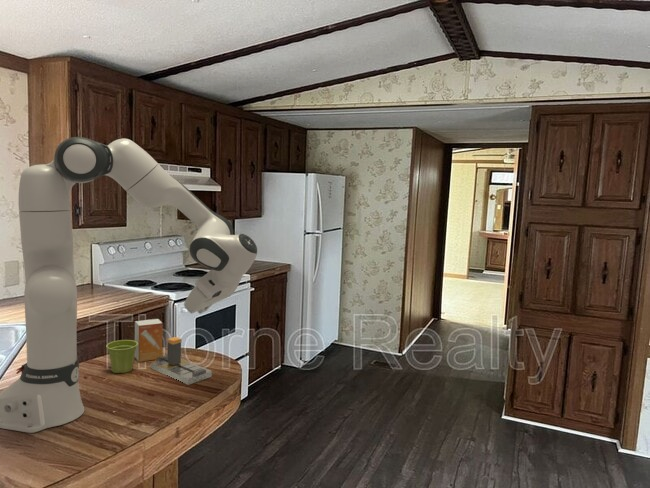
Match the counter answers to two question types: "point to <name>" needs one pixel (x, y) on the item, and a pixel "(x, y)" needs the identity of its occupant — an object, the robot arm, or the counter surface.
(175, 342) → the fader knob
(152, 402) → the counter surface
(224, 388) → the counter surface
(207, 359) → the counter surface
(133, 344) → the plant pot
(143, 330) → the small box
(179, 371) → the fader console
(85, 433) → the counter surface
